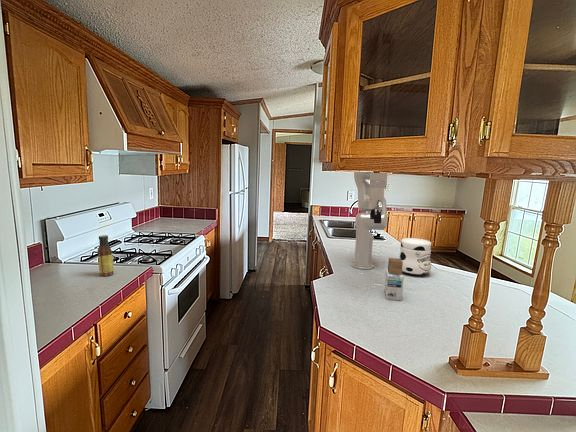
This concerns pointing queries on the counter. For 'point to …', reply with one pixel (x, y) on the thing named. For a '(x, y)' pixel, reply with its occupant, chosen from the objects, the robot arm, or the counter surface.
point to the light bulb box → (393, 286)
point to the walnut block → (395, 266)
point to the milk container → (415, 256)
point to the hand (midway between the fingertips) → (375, 221)
